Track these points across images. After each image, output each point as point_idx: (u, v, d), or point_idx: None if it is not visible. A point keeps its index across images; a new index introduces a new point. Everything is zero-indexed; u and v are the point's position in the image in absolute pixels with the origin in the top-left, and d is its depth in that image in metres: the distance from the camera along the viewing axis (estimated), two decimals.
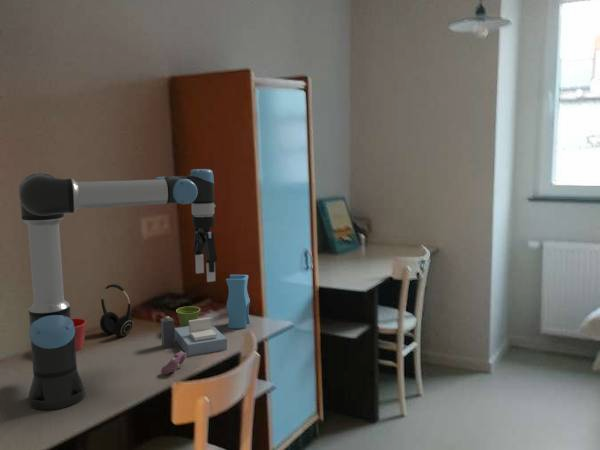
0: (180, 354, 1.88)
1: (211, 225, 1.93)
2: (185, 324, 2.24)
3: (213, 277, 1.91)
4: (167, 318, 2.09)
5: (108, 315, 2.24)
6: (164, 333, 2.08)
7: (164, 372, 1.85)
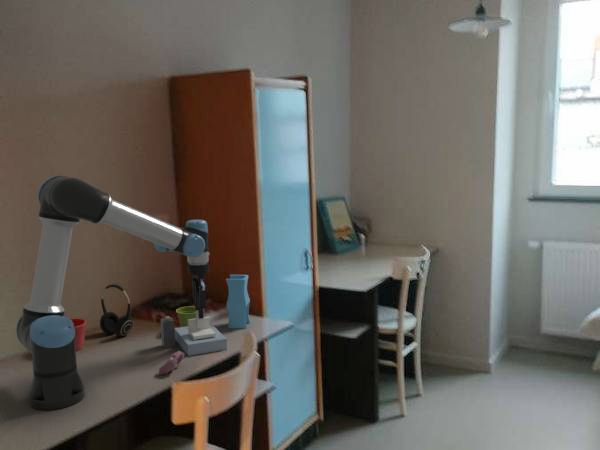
0: (178, 354, 1.88)
1: (206, 272, 2.06)
2: (185, 324, 2.24)
3: (202, 323, 2.11)
4: (167, 318, 2.09)
5: (108, 315, 2.24)
6: (164, 333, 2.08)
7: (161, 372, 1.85)
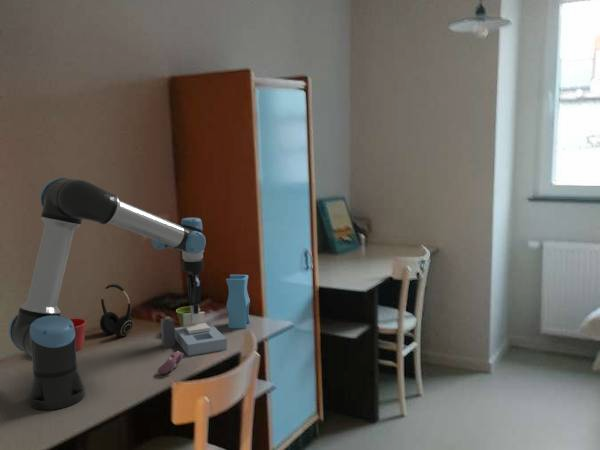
0: (177, 354, 1.88)
1: (200, 268, 2.13)
2: None
3: (197, 318, 2.17)
4: (167, 318, 2.09)
5: (108, 315, 2.24)
6: (164, 333, 2.08)
7: (160, 372, 1.85)
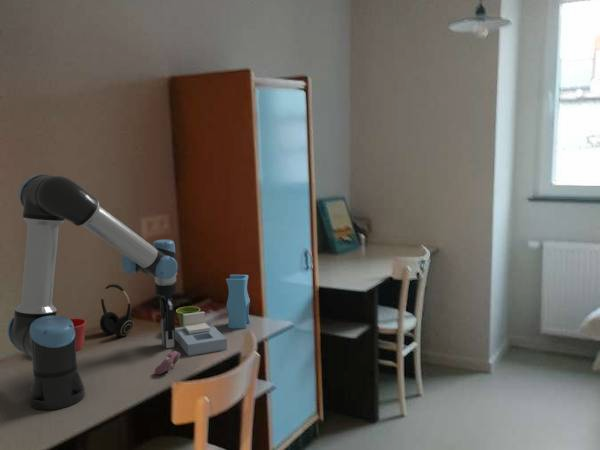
0: (174, 354, 1.88)
1: (173, 292, 2.06)
2: None
3: (172, 344, 2.09)
4: None
5: (108, 315, 2.24)
6: (164, 333, 2.08)
7: (157, 372, 1.85)
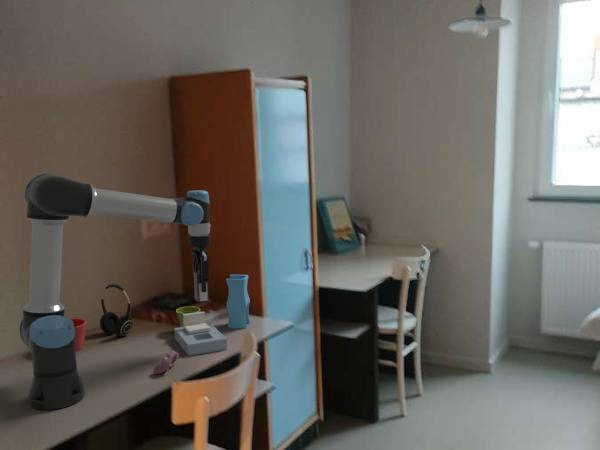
0: (172, 354, 1.89)
1: (207, 243, 2.02)
2: None
3: (205, 297, 2.05)
4: None
5: (108, 315, 2.24)
6: (198, 286, 2.04)
7: (156, 371, 1.86)
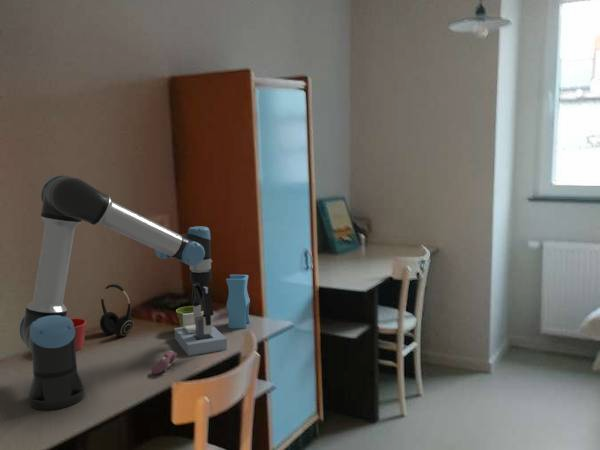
0: (170, 354, 1.89)
1: (208, 279, 2.04)
2: None
3: (209, 330, 2.03)
4: None
5: (108, 315, 2.24)
6: (199, 331, 2.07)
7: (154, 371, 1.86)
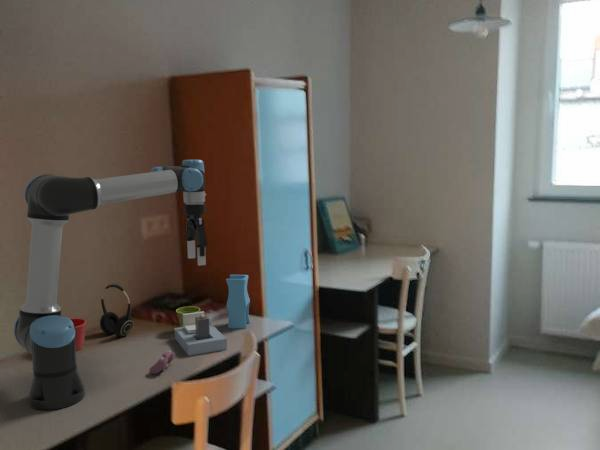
0: (168, 354, 1.89)
1: (202, 212, 2.05)
2: None
3: (203, 261, 2.04)
4: (202, 316, 2.07)
5: (108, 315, 2.24)
6: (199, 331, 2.06)
7: (152, 371, 1.86)
